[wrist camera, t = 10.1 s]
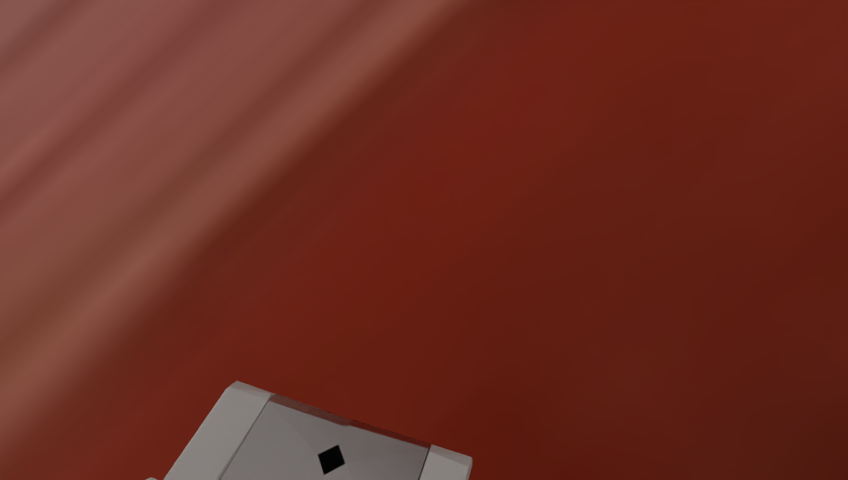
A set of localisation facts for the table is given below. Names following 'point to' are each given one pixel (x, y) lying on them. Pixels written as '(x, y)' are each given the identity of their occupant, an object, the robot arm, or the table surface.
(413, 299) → the table surface
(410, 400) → the table surface
